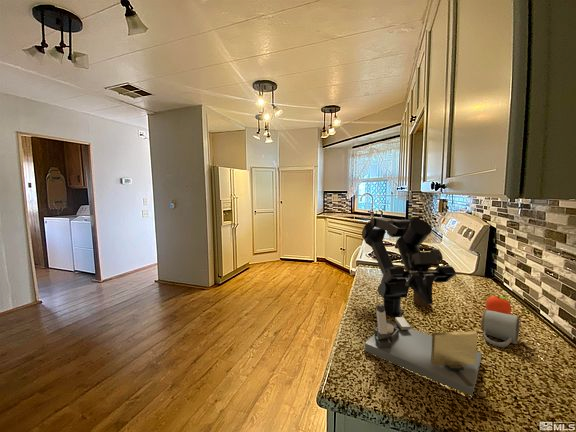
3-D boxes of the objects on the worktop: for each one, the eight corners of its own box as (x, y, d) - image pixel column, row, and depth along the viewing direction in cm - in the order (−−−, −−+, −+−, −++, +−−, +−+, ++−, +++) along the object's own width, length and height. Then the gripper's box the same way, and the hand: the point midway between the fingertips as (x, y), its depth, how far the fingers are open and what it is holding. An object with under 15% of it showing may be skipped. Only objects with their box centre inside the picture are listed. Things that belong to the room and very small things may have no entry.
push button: (383, 326, 74) (383, 321, 74) (395, 331, 72) (395, 326, 72) (378, 331, 72) (378, 326, 72) (390, 336, 69) (390, 331, 69)
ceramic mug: (484, 326, 80) (486, 304, 79) (519, 337, 74) (521, 313, 73) (476, 340, 73) (478, 316, 72) (513, 354, 67) (516, 327, 66)
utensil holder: (412, 304, 96) (414, 274, 95) (413, 298, 102) (414, 269, 101) (430, 307, 93) (431, 277, 92) (429, 301, 99) (431, 272, 98)
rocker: (394, 320, 78) (395, 317, 77) (403, 319, 78) (403, 317, 77) (401, 329, 73) (402, 326, 73) (410, 329, 73) (410, 326, 73)
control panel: (387, 327, 80) (387, 315, 80) (480, 361, 64) (482, 346, 64) (364, 351, 69) (365, 336, 68) (472, 400, 52) (473, 381, 52)
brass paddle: (428, 362, 60) (429, 330, 59) (468, 360, 60) (470, 329, 60) (436, 371, 57) (437, 337, 56) (478, 369, 57) (480, 336, 57)
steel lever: (377, 338, 68) (373, 304, 70) (386, 338, 68) (383, 304, 70) (380, 340, 66) (376, 305, 68) (390, 340, 66) (386, 304, 68)
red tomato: (507, 312, 89) (508, 293, 89) (519, 322, 83) (521, 302, 82) (481, 309, 92) (482, 291, 91) (490, 319, 85) (492, 299, 84)
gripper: (389, 239, 70) (407, 293, 61) (453, 238, 71) (482, 291, 61) (377, 259, 79) (392, 308, 69) (435, 258, 80) (457, 307, 70)
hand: (430, 304), depth 67 cm, fingers closed
